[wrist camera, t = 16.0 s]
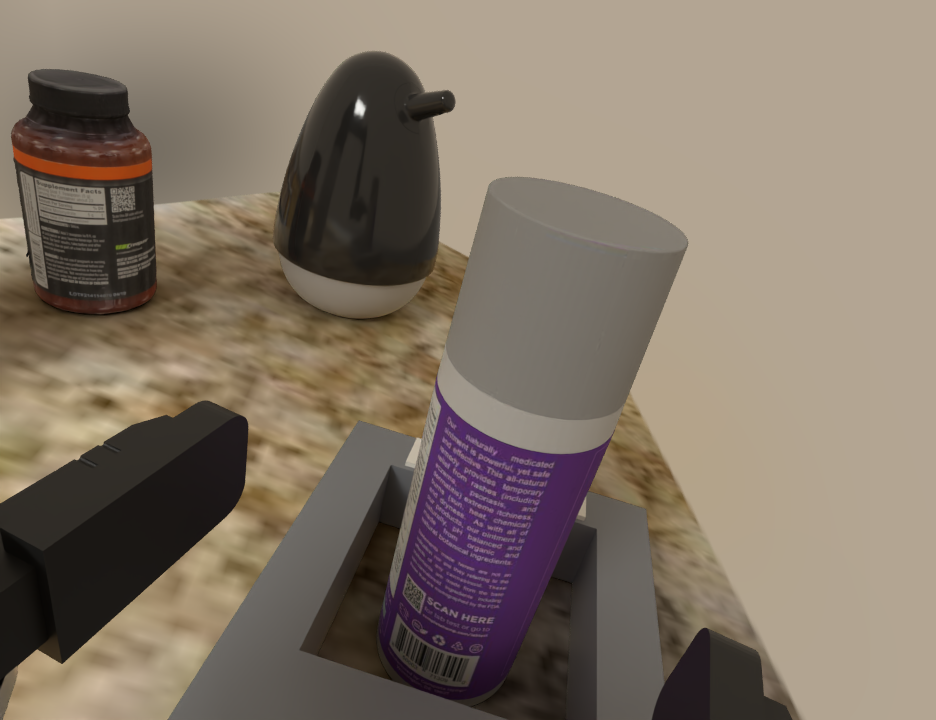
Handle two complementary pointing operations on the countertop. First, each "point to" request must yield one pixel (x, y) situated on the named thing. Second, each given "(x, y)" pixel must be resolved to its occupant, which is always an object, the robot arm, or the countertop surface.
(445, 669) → the container
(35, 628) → the robot arm
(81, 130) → the supplement bottle
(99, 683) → the countertop surface
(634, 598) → the socket board
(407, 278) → the pump dispenser
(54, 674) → the countertop surface
